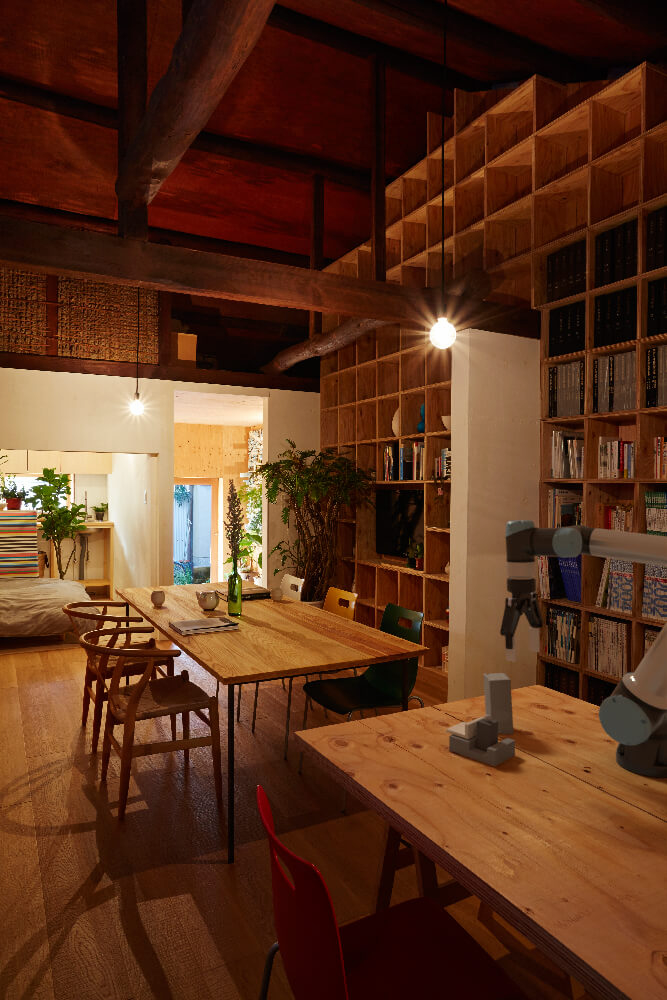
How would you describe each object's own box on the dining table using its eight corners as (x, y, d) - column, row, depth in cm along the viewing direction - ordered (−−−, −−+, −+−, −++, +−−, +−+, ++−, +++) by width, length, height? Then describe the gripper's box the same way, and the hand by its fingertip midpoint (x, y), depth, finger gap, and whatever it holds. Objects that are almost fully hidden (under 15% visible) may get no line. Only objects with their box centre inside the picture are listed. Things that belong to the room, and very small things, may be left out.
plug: (498, 751, 171) (498, 715, 171) (489, 755, 169) (489, 719, 168) (485, 746, 174) (485, 712, 174) (476, 751, 172) (476, 715, 171)
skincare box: (513, 734, 185) (514, 680, 185) (489, 734, 186) (489, 680, 185) (506, 724, 194) (506, 671, 194) (482, 723, 194) (483, 671, 194)
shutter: (484, 731, 177) (484, 717, 177) (468, 739, 171) (468, 725, 171) (463, 724, 182) (463, 711, 182) (446, 732, 176) (446, 718, 176)
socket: (514, 755, 171) (515, 740, 171) (494, 766, 164) (494, 750, 164) (470, 740, 181) (470, 726, 181) (449, 750, 174) (449, 735, 174)
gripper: (528, 572, 186) (530, 645, 186) (485, 581, 167) (487, 663, 167) (554, 573, 181) (556, 649, 180) (512, 583, 162) (514, 667, 162)
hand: (523, 656), depth 174 cm, fingers open, 13 cm apart
